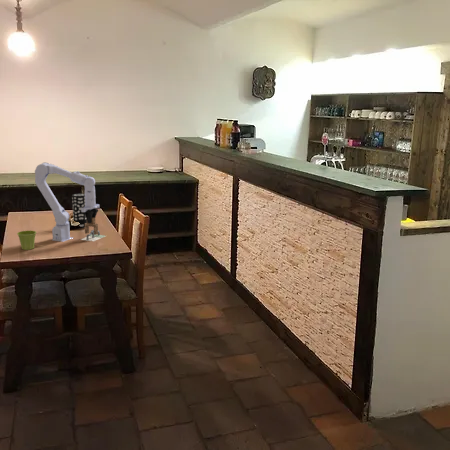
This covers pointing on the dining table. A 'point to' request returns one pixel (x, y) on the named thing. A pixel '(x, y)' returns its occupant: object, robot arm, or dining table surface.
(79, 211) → the white-spotted black cylinder
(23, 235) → the plant pot
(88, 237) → the buzz wire board
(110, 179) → the dining table surface
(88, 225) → the stepped wooden block
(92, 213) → the robot arm
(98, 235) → the end pad
